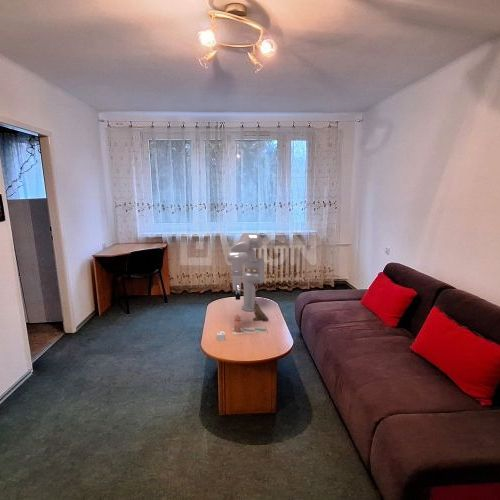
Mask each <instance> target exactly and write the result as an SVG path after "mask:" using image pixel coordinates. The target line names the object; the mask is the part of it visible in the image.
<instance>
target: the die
mask: <svg viewBox="0 0 500 500" xmlns="http://www.w3.org/2000/svg"><path fill="white" fill-rule="evenodd" d="M216 340H217V342H222V341H223V342H224V341H226V332H225V331H224V330H223V331H222V330H221V331H216Z"/></svg>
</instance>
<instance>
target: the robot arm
mask: <svg viewBox="0 0 500 500" xmlns="http://www.w3.org/2000/svg"><path fill="white" fill-rule="evenodd" d="M263 242H264V241H263V238H262V237H261V235H260V234H259V233H253V232H252V233H251V232H246V233H243V234H242V235H241V236H240V239H239V241H238V243H236V244H234V245H232V246H231V247H230V248H229V249H228V251H227V255H226V260H227V262H229V263H231V264H230V266H231V267H230V269H231V272H230V273H231V276H232V290H233V294H234V296H235V300H236V301H240V300H241V291H242V283H243V305H242V306H241V309H242V311H245V312H254V304H255V300H256V287H255V285H254V284H259V285H260V284H263V283H264V281H265V261H264V259H263V258H259V257H256V251H255V249H260V248H262V246H263ZM243 266H244V267H243ZM243 268H245V269H246V270H247V271H244V270H243ZM243 271H244V272H243Z"/></svg>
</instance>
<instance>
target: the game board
mask: <svg viewBox="0 0 500 500" xmlns="http://www.w3.org/2000/svg"><path fill="white" fill-rule="evenodd" d="M268 331H269V330H268V329H267V326H253V327H252V326H251V327H241V332H238V333H237V332H235V331H234V328H231V333H232V335H244V334H246V335H247V334H262V333H265V334H266V333H267V334H269V332H268Z"/></svg>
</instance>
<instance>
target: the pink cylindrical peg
mask: <svg viewBox="0 0 500 500" xmlns="http://www.w3.org/2000/svg"><path fill="white" fill-rule="evenodd" d="M233 321H234V322H233V323H234V325H233V326H234V331H235V332H237V333H238V332H241V328H242V319H241V316H240V315H239V314H236V315H235V316H234V320H233Z"/></svg>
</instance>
